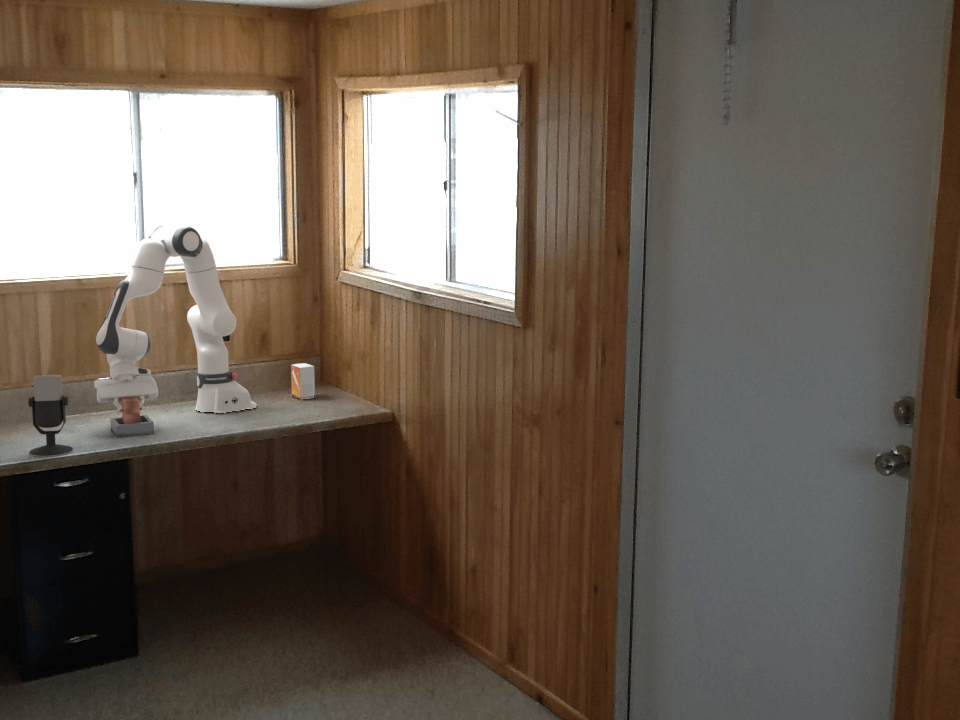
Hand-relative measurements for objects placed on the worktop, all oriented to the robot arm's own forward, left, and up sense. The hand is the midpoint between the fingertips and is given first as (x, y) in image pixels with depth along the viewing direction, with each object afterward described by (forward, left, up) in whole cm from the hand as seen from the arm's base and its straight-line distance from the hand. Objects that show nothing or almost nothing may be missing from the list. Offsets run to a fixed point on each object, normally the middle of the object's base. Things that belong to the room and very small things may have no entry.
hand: (130, 409), depth 388 cm
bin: (0, 0, -8) cm, 8 cm away
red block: (0, 0, -4) cm, 4 cm away
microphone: (+28, +16, -8) cm, 33 cm away
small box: (-70, -27, -8) cm, 76 cm away
